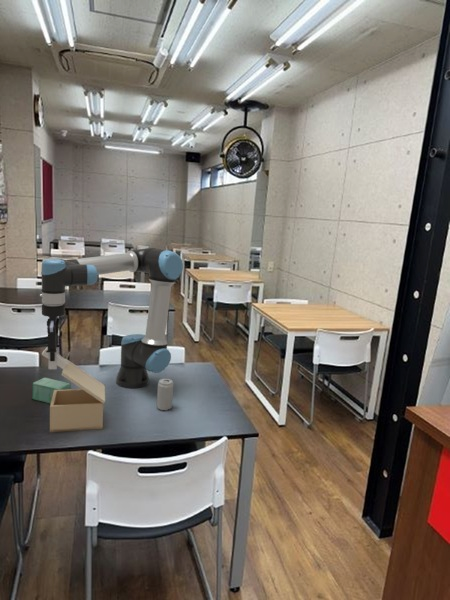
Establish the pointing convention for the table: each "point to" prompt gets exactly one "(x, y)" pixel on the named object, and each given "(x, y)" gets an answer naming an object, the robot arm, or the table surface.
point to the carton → (75, 411)
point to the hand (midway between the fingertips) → (53, 366)
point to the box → (47, 389)
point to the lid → (80, 377)
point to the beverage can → (165, 394)
